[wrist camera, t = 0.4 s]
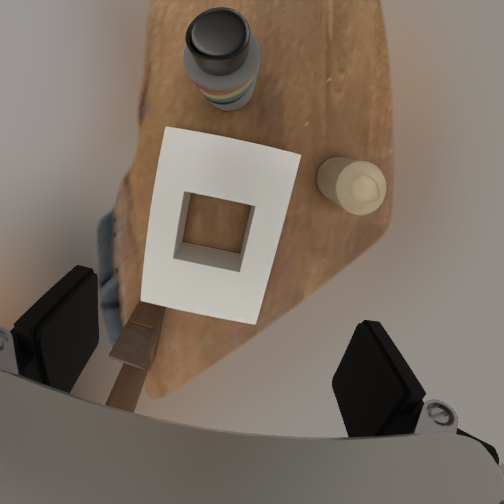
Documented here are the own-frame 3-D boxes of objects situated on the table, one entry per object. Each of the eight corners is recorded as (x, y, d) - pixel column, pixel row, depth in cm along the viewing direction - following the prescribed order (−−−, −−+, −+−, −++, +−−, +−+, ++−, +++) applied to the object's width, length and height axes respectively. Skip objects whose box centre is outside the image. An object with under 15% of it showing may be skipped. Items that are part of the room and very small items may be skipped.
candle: (364, 171, 37) (401, 181, 27) (344, 207, 38) (374, 228, 29) (329, 148, 36) (358, 150, 26) (307, 186, 37) (330, 201, 28)
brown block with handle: (167, 301, 42) (130, 391, 25) (155, 357, 45) (125, 447, 28) (142, 293, 41) (94, 378, 24) (133, 350, 45) (96, 436, 28)
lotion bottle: (219, 60, 32) (199, -19, 13) (262, 80, 33) (284, 15, 14) (196, 99, 33) (149, 54, 14) (239, 119, 34) (236, 90, 15)
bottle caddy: (177, 129, 34) (165, 126, 29) (291, 153, 36) (301, 154, 30) (152, 280, 41) (140, 300, 35) (253, 300, 42) (255, 324, 37)
